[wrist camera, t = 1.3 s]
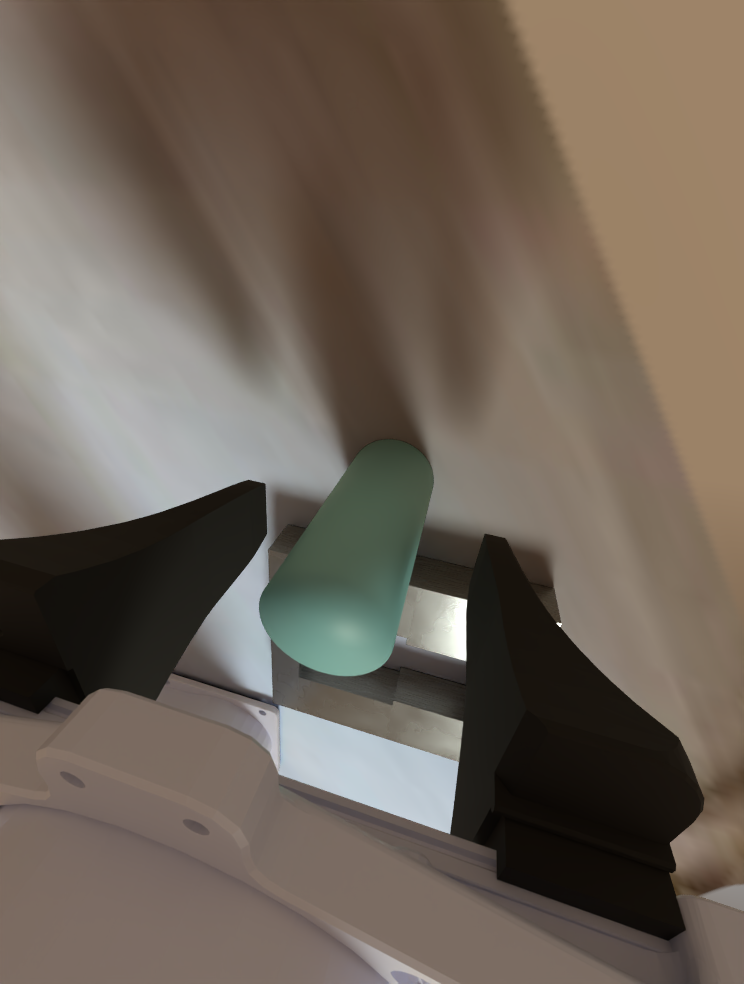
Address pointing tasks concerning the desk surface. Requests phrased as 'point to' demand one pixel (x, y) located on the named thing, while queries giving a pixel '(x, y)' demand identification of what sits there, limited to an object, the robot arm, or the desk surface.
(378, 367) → the desk surface
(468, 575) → the keyhole plate
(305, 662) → the peg
